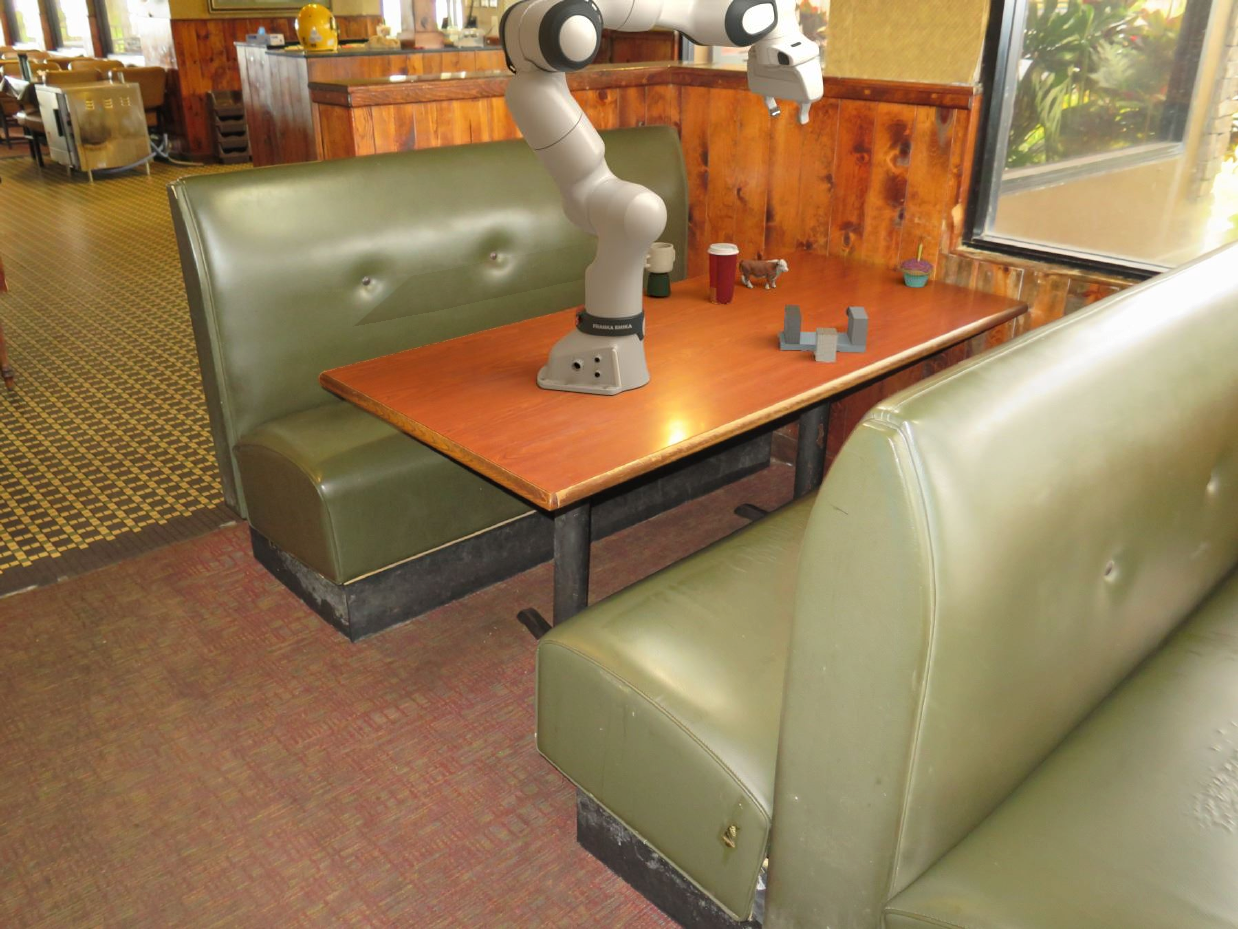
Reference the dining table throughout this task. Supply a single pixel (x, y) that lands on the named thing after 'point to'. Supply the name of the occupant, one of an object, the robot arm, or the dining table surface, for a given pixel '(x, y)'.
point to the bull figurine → (762, 270)
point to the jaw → (792, 324)
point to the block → (825, 344)
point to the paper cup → (722, 272)
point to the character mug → (659, 268)
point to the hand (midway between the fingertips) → (788, 119)
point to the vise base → (845, 341)
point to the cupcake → (916, 270)
